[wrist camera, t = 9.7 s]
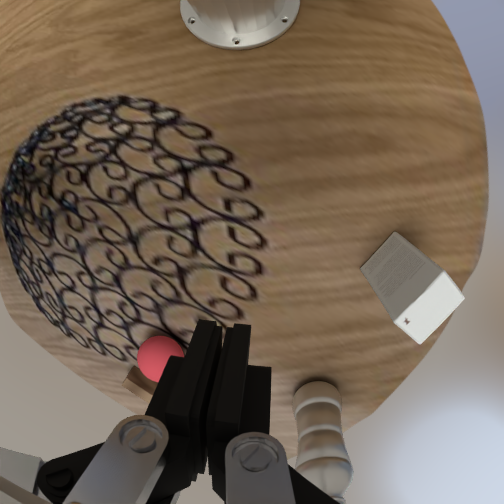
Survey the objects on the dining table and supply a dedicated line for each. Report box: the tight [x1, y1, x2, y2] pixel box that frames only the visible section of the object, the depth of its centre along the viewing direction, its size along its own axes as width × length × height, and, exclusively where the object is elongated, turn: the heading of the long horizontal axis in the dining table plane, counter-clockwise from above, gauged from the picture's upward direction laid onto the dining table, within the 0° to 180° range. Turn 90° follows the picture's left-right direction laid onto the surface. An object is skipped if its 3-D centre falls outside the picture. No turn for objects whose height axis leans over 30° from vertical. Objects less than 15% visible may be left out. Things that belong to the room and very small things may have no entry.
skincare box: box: [360, 232, 465, 345], centre depth 29 cm, size 6×4×12 cm
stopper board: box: [122, 366, 158, 403], centre depth 42 cm, size 16×2×3 cm, turn 53°
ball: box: [137, 336, 184, 382], centre depth 37 cm, size 6×6×6 cm
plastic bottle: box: [292, 381, 354, 504], centre depth 32 cm, size 6×7×20 cm
